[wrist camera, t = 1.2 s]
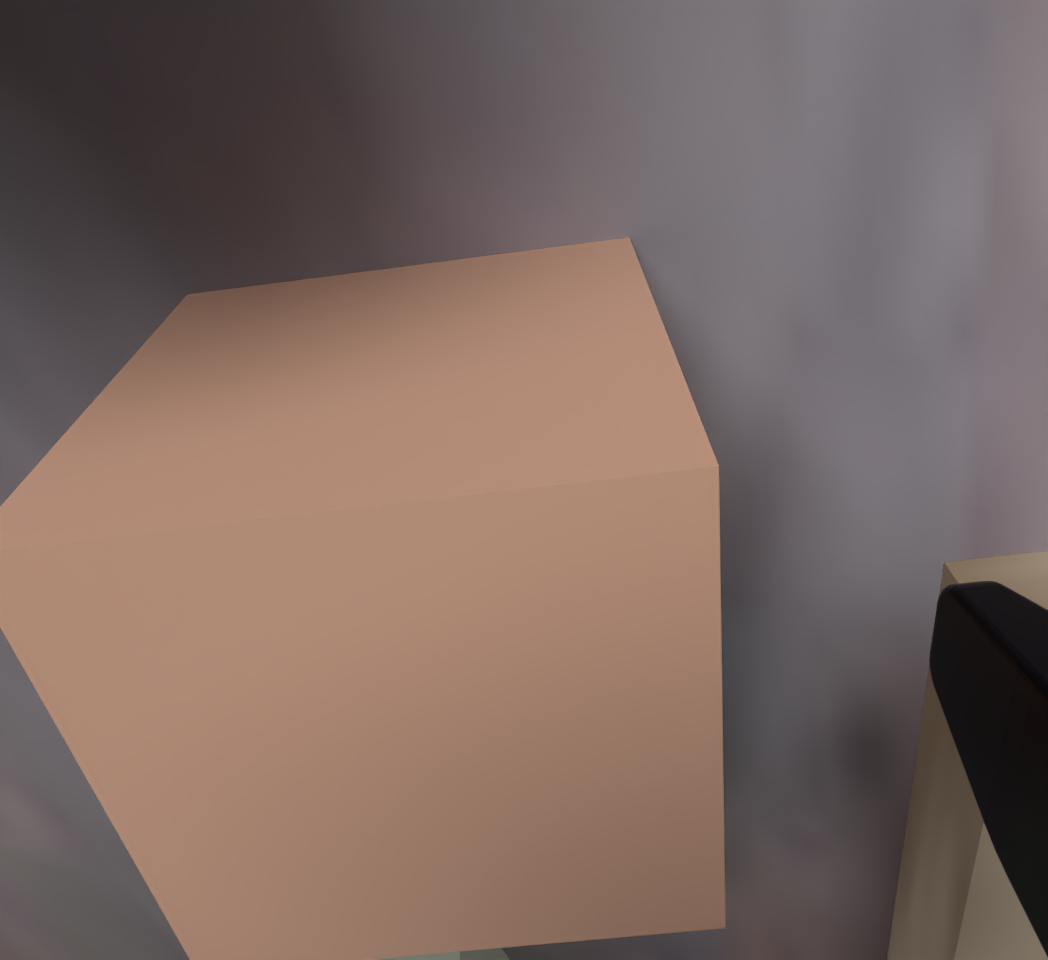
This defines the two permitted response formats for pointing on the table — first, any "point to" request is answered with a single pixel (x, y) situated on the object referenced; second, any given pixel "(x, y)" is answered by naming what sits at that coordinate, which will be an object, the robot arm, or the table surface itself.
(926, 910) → the plinth
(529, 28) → the table surface
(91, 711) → the terracotta cube
